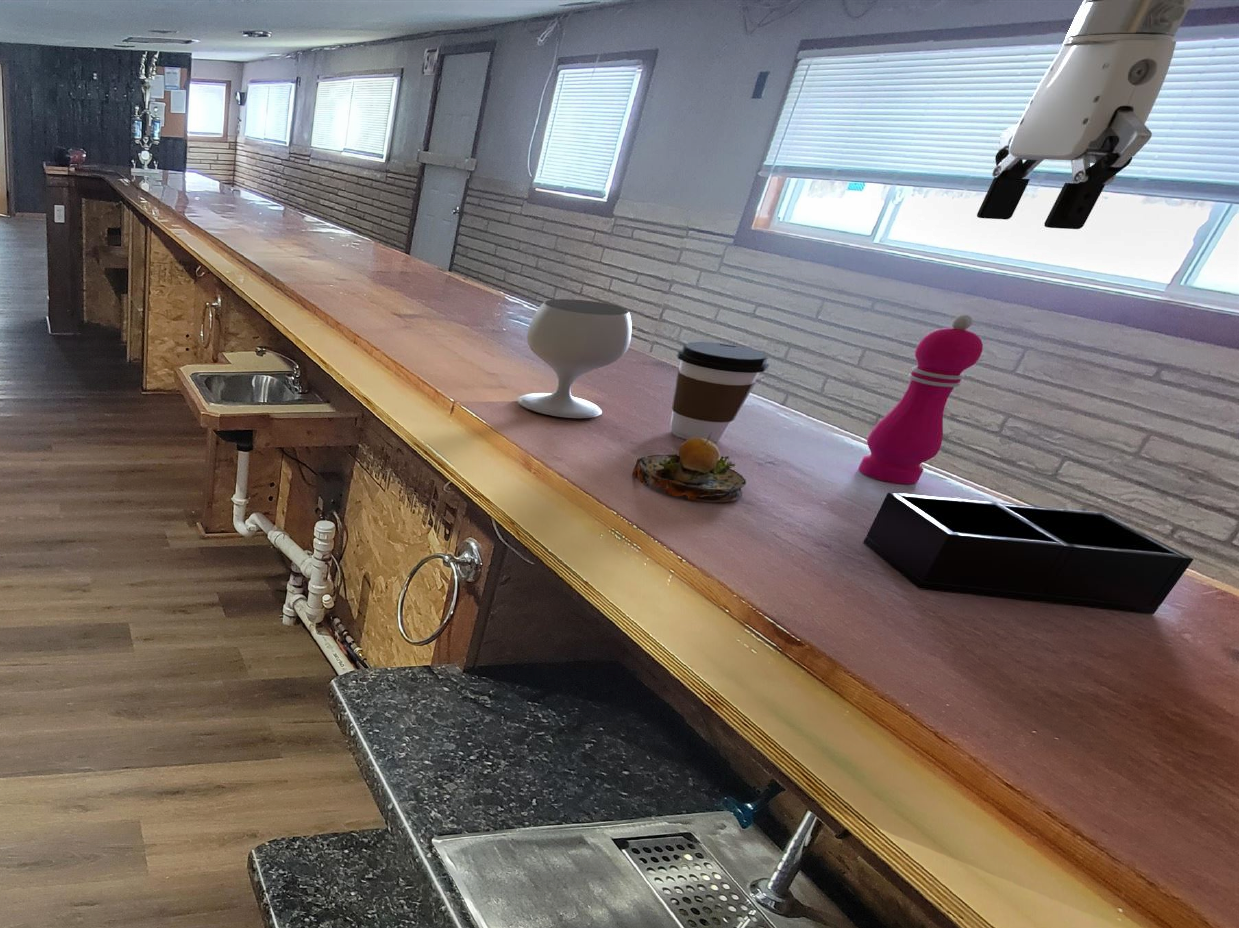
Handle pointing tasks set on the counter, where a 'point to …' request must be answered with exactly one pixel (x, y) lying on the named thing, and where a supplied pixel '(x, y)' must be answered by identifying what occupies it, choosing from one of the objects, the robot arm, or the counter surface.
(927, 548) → the divided box
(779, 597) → the counter surface
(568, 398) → the chalice
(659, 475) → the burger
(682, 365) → the coffee cup
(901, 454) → the pepper mill
